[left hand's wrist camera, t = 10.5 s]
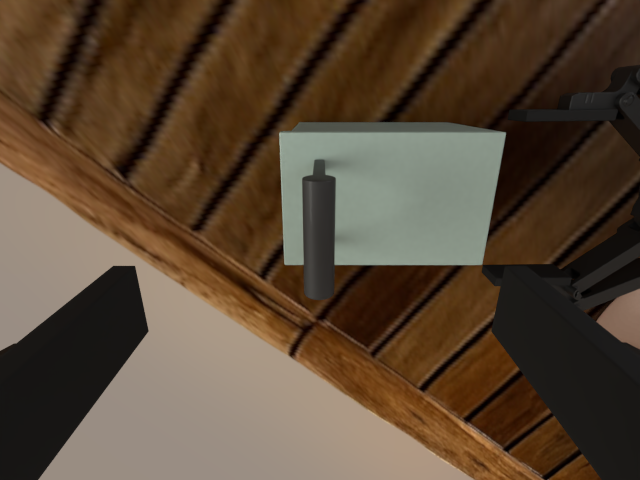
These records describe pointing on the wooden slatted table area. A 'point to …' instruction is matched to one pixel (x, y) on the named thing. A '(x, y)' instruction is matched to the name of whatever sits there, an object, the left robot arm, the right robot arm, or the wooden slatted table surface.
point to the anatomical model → (623, 318)
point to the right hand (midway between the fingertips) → (501, 201)
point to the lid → (385, 199)
